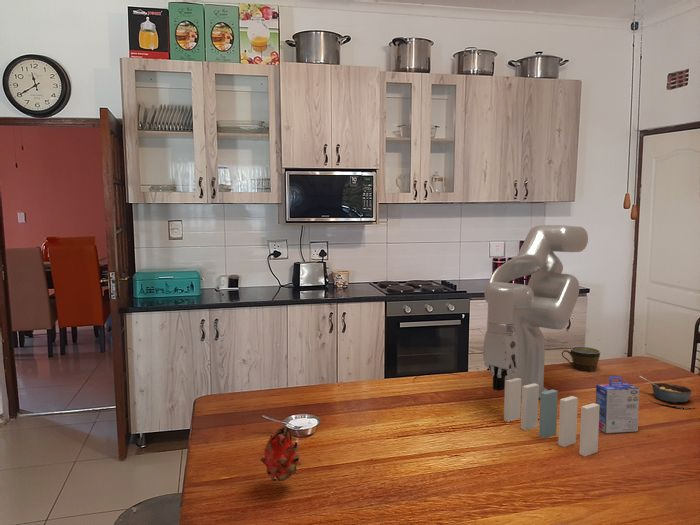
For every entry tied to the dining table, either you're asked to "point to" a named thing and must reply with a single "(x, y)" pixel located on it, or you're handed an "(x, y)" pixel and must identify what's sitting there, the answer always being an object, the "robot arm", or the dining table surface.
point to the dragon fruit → (281, 456)
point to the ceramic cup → (584, 358)
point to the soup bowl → (670, 393)
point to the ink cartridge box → (617, 406)
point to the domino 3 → (548, 413)
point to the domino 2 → (529, 406)
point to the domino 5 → (589, 429)
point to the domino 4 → (568, 421)
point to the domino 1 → (512, 399)
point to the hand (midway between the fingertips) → (498, 389)
